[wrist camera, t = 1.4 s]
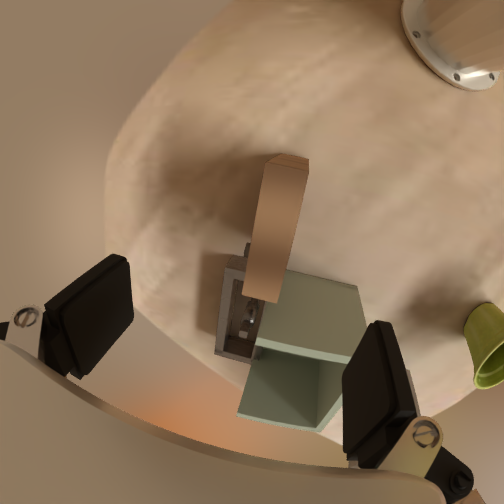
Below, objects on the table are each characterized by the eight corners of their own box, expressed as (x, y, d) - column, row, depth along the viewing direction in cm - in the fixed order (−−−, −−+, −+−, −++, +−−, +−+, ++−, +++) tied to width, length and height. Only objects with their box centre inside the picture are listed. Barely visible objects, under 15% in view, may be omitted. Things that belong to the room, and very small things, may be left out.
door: (272, 151, 24) (250, 159, 15) (308, 159, 23) (308, 171, 14) (256, 239, 28) (229, 291, 19) (288, 247, 27) (276, 303, 18)
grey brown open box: (233, 253, 29) (194, 314, 19) (284, 265, 28) (268, 335, 18) (221, 338, 34) (191, 403, 24) (261, 349, 34) (242, 419, 24)
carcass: (276, 267, 28) (257, 337, 19) (357, 286, 27) (373, 360, 18) (256, 346, 34) (236, 416, 24) (323, 361, 33) (320, 432, 23)
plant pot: (463, 355, 28) (481, 398, 20) (443, 323, 27) (467, 371, 19) (508, 317, 24) (533, 354, 16) (495, 277, 23) (529, 316, 15)
